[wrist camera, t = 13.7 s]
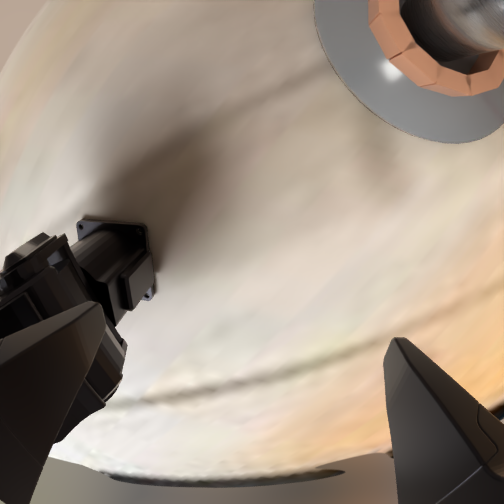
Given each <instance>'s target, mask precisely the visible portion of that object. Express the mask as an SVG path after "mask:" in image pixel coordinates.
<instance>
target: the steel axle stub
mask: <svg viewBox="0 0 504 504" xmlns="http://www.w3.org/2000/svg"><path fill="white" fill-rule="evenodd" d="M400 16H401V17H402V19H403V21H404V23H405V24H406V26H407V28H408V30H409V32H410V34H411V35H412V37H413V39H414V41H415V43H416V44H417V45H418V46H419V47H421V48H422V49H423V50H424V51H425V52H426V53H427V54H429V55H430V56H431V57H432V58H433V59H434V60H437V61H442V62H450V61H454V60H458V59H461V58H465V57H469V56H473V55H478V54H482V53H486V52H491V51H496V50H501V49H504V0H406V1H405V2H404V4H403V5H402V8H401V13H400Z"/></svg>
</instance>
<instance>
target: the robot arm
mask: <svg viewBox="0 0 504 504" xmlns="http://www.w3.org/2000/svg"><path fill="white" fill-rule="evenodd" d="M81 224H82V225H83V227H82V225H81ZM76 227H77V233H78V239H79V241H78V242H76V243H75V244H74V245H72V246H71V247H69V244H68V242H67V241H68V239H67V237H66V235H65V233H64V234H62V235H60V236H58V237H57V236H56V235H55V236H53V237H52V236H51V237H50V236H48V235H47V234H45V233H41V234H39V235H37V236H36V237H34V238H33V239H31V240H29V241H28V242H26V243H25V244H23V245H22V246H20V247H19V248H17V249H16V250H14V251H13V252H12V253H10V254H9V255H8V256H6V257H5V261H4V266H3V269H2V270H1V271H0V500H1V501H3V502H4V503H5V504H29V503H30V501H31V498H32V495H33V492H34V490H35V487H36V485H37V482H38V480H39V477H40V474H41V472H42V470H43V466H44V464H45V462H46V460H47V457H48V455H49V452H50V450H51V448H52V446H53V444H55V443H58V442H60V441H62V440H63V439H64V438H65V437H66V436H67V435H68V434H69V433H70V432H71V431H72V430H73V428H74V427H76V426H77V425H78V424H79V423H80V422H81V421H82V420H84V419H85V418H86V417H88V416H89V415H91V414H92V413H94V412H96V411H98V410H100V409H102V408H104V407H105V406H106V403H105V402H106V401H108V400H109V399H110V398H111V397H112V396H113V394H114V393H115V392H116V390H117V388H118V387H119V384H120V382H121V381H122V377H123V374H122V369H123V364H124V360H125V355H126V350H127V346H128V345H127V343H126V342H125V340H124V339H123V338H121V336H120V335H119V333H118V332H117V330H116V329H115V327H116V326H117V324H118V323H119V321H120V320H121V319H122V317H123V316H124V315H125V313H126V312H127V311H132V310H133V309H135V307H136V306H137V304H138V303H139V302H140V300H146V301H150V300H151V299H152V298H153V296H154V291H153V283H154V273H153V263H152V254H151V252H150V251H149V243H148V231H147V227H146V226H145V225H144V224H142V223H130V222H115V221H101V220H85V219H82V220H80V221H78V222H77V224H76ZM139 228H140V229H141V230H142V233H140V232H139V230H138V229H139ZM146 293H148V294H149V296H148V295H147V294H146ZM383 367H384V379H385V395H386V408H387V415H388V421H389V428H390V434H391V441H392V448H393V456H394V464H395V473H396V482H397V494H398V504H504V424H503V423H502V422H501V421H499V420H498V419H497V418H496V417H495V416H494V415H492V414H491V413H490V412H489V411H488V410H487V409H486V408H485V407H484V406H482V405H481V404H480V403H479V402H478V401H477V400H476V399H475V398H474V397H473V396H471V395H470V394H469V393H468V392H467V391H466V390H465V389H464V388H463V387H461V386H460V385H459V384H458V383H457V382H456V381H455V380H454V379H453V378H451V377H450V376H449V375H448V374H447V373H446V372H445V371H444V370H442V369H441V368H440V367H439V366H438V365H437V364H436V363H434V362H433V361H432V360H431V359H430V358H429V357H428V356H426V355H425V354H424V353H423V352H422V351H421V350H420V349H418V348H417V347H416V346H415V345H414V344H413V343H411V342H410V341H409V340H408V339H407V338H404V337H394V338H393V339H392V340H391V342H390V345H389V347H388V350H387V352H386V355H385V357H384V362H383Z"/></svg>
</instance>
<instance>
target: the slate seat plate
mask: <svg viewBox="0 0 504 504" xmlns="http://www.w3.org/2000/svg"><path fill="white" fill-rule="evenodd" d="M405 1H406V0H314V19H315V24H316V29H317V34H318V37H319V39H320V42H321V45H322V48H323V50H324V52H325V54H326V56H327V58H328V61H329V62H330V64H331V66H332V67H333V69H334V70H335V72H336V74H337V75H338V77H339V78H340V79H341V81H342V82H343V83H344V85H345V86H346V87H347V88H348V90H349V91H350V92H351V93H352V94H353V95H354V96H355V97H356V98H357V99H358V100H359V101H360V102H361V103H362V104H363V105H364V106H365V107H367V108H368V109H369V110H370V111H371V112H372V113H374V114H375V115H376V116H378V117H379V118H381V119H382V120H383V121H385V122H386V123H388V124H390V125H392V126H393V127H395V128H397V129H399V130H401V131H403V132H406V133H408V134H410V135H412V136H416V137H419V138H422V139H426V140H430V141H435V142H441V143H454V144H459V143H467V142H472V141H475V140H479V139H482V138H484V137H486V136H488V135H490V134H491V133H493V132H494V131H495V130H497V129H498V128H499V127H500V126H501V125H502V124H503V123H504V49H501V50H496V51H491V52H486V53H482V54H478V55H473V56H469V57H465V58H461V59H458V60H454V61H450V62H442V61H437V60H434V59H433V58H432V57H431V56H430V55H429V54H427V53H426V52H425V51H424V50H423V49H422V48H421V47H419V46H418V45H417V44H416V43H415V41H414V39H413V37H412V35H411V34H410V32H409V30H408V28H407V26H406V24H405V23H404V21H403V19H402V17H401V16H400V13H401V8H402V5H403V4H404V2H405Z"/></svg>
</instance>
